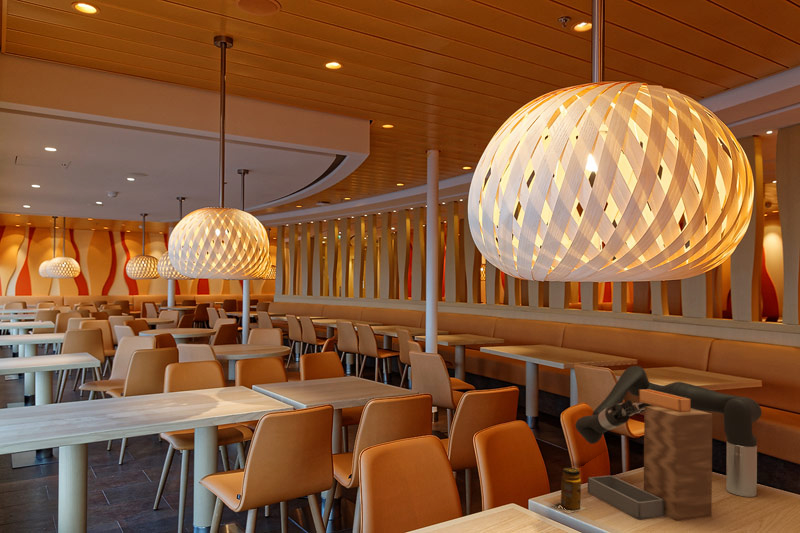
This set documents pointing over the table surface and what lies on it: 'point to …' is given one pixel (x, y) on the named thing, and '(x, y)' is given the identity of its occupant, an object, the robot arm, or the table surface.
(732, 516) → the table surface
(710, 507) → the walnut stand
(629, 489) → the charcoal crate
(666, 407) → the narrow crate
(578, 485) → the condiment
